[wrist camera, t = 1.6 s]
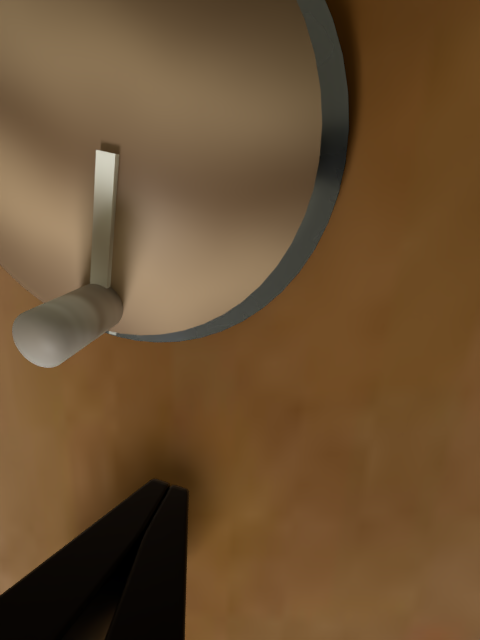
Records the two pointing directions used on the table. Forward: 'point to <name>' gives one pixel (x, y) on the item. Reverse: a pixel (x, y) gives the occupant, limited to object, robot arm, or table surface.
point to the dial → (149, 160)
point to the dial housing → (325, 182)
